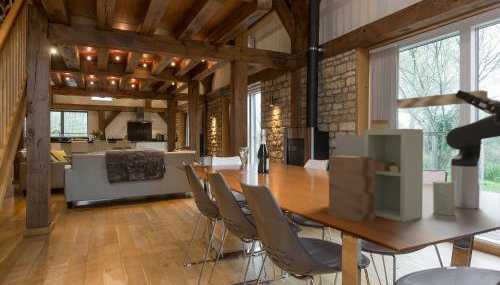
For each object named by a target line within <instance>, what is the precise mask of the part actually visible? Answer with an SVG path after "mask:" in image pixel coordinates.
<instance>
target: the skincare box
mask: <svg viewBox="0 0 500 285" xmlns="http://www.w3.org/2000/svg"><path fill="white" fill-rule="evenodd" d="M432 205H433V206H432V207H433V208H432V210H433V214H438V215H443V216H452V215H455V213H456V212H455V210H456V207H455V206H454V182H451V181H444V180H441V181H440V180H436V181H432Z"/></svg>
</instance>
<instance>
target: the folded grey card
mask: <svg viewBox="0 0 500 285" xmlns="http://www.w3.org/2000/svg"><path fill="white" fill-rule="evenodd" d="M364 149H365V134H339V135H338V134H337V135H336V156H343V155H344V156H361V157H364Z"/></svg>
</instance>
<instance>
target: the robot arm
mask: <svg viewBox="0 0 500 285" xmlns="http://www.w3.org/2000/svg"><path fill="white" fill-rule="evenodd" d="M466 92H467V91H464V90H459V89H458V90H457V92H456V93H457V94H456V95H455V96H456V97H457V98H460V99H462V100H464V101H467V102H466V103H465V104H466V105H467V104H468V105H470V106H473V107H474V108H476V109H477V110H480V111H483V112H484V113H486V114H488V115H487V116H485V117H483V118H482V117H481V119H479V120H477V121H474V122H471V123H467V124H464V125H461V126H457V127H454V128H452V129H451V130H449V132H448V133H447V135H446V138H445V142H446V144H447V145H448V147H450V148H451V149H454V150H459V151H458V154H457V155H456V156H454V157H452V158H451V161H450V162H451V164H450V166H451V167H450V182H454V206H455V208H458V209H459V208H460V209H469V210H470V209H478V208H480V184H478V162H479V161H480V159H481V158H480V157H481V148H482V140H485V139H491V138H497V137H500V101H499V100H495V99H492V98H489V97H487V98H485V97H477V96H474V95H472V94H469V93H466ZM474 98H475V99H476V100H475V101H474V103H473V102H472V101H473V99H474ZM483 99H484V100H483Z"/></svg>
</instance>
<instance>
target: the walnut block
mask: <svg viewBox="0 0 500 285" xmlns="http://www.w3.org/2000/svg"><path fill="white" fill-rule="evenodd" d="M328 215H329V216H331V217H337V218H340V219H344V220H348V221H353V222H357V223H360V224H361V223H366V222H370V221H374V219H376V216H375V157H361V156H344V155H343V156H337V155H328Z"/></svg>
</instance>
